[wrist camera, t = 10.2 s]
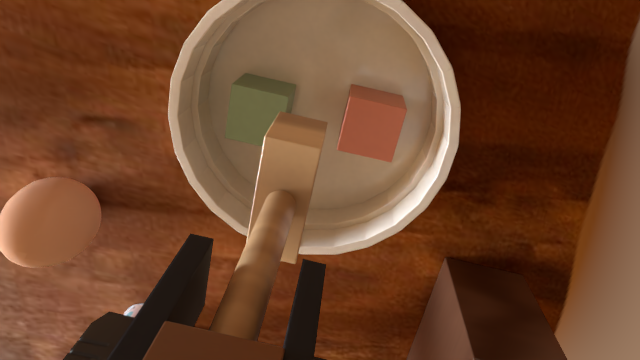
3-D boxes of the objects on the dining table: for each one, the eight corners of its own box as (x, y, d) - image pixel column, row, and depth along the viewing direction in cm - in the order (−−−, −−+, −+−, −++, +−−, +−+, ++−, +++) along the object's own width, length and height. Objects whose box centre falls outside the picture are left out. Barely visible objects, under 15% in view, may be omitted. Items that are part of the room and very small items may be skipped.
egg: (88, 151, 40) (17, 195, 32) (133, 216, 42) (77, 273, 34) (29, 180, 42) (-53, 229, 34) (75, 241, 44) (8, 301, 36)
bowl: (482, 6, 33) (505, 12, 28) (405, 239, 41) (411, 280, 35) (212, -57, 33) (181, -63, 28) (186, 189, 41) (158, 222, 35)
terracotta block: (403, 95, 35) (407, 109, 32) (389, 144, 37) (391, 163, 33) (351, 83, 35) (349, 95, 32) (339, 133, 37) (336, 150, 33)
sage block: (296, 84, 36) (288, 96, 32) (287, 133, 37) (278, 150, 34) (245, 72, 36) (231, 83, 32) (238, 122, 37) (224, 138, 34)
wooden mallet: (274, 109, 24) (103, 368, 8) (333, 122, 24) (274, 406, 8) (256, 213, 26) (97, 564, 11) (309, 225, 26) (229, 594, 11)
